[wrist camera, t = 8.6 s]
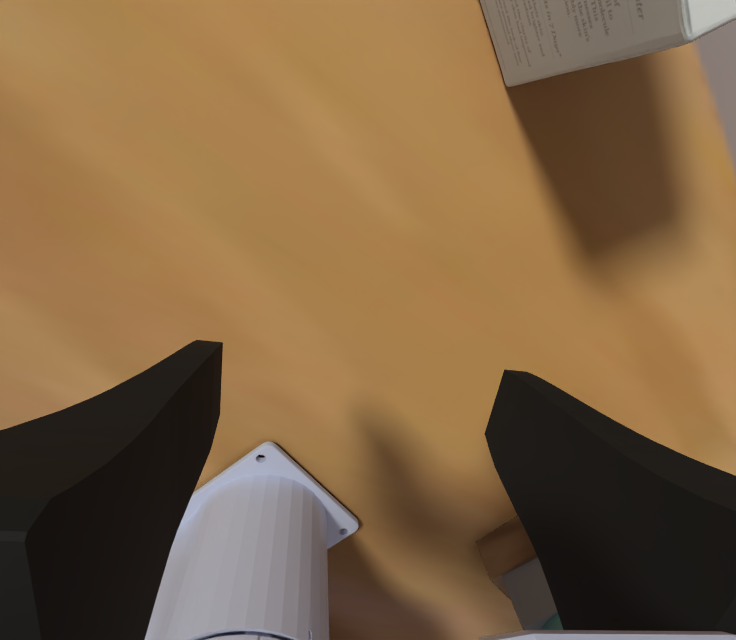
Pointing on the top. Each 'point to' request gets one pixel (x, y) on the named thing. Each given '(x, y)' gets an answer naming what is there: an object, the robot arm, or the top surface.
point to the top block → (530, 595)
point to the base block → (505, 551)
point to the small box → (592, 31)
